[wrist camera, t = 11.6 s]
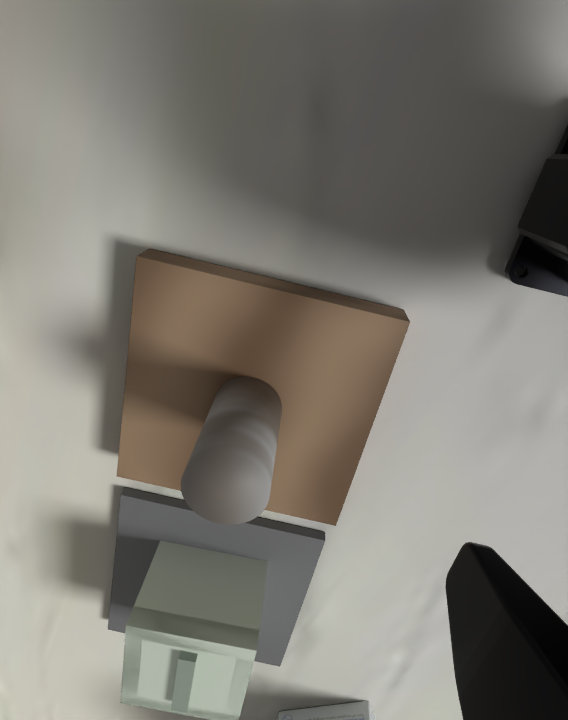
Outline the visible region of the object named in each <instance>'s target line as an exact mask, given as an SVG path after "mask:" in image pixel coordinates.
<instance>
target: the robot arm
mask: <svg viewBox="0 0 568 720" xmlns="http://www.w3.org/2000/svg"><path fill="white" fill-rule="evenodd" d="M518 228H519V231H520V233H521V234H520V236H519V238H518V241H517V243H516V245H515V247H514V250H513V252H512V254H511V257H510V259H509V261H508V263H507V266H506V269H505V274H506V277H507V278H508V279H509V280H510V281H512V282H513V283H515V284H518V285H522V286H527V287H531V288H535V289H539V290H543V291H547V292H551V293H555V294H559V295H563V296H567V297H568V126H567V128H566V130H565V133H564V135H563V137H562V140H561V142H560V144H559V146H558V149H557V151H556V153H555V155H553V156H551V157H550V158H548V159H547V160H546V162H545V164H544V166H543V169H542V171H541V173H540V176H539V178H538V180H537V183H536V185H535V187H534V190H533V192H532V194H531V197H530V199H529V201H528V204H527V206H526V208H525V211H524V213H523V215H522V218H521V220H520V222H519V225H518ZM520 266H525V271H524V272H523V274H521V275H519V276H516V274H515V272H516V269H517V268H518V267H520ZM446 595H447V605H448V614H449V624H450V634H451V643H452V653H453V663H454V671H455V678H456V684H457V690H458V696H459V701H460V706H461V710H462V715H463V720H568V625H567V624H566V623H565V622H564V621H563V620H562V619H561V618H560V617H559V616H558V615H557V614H556V613H555V612H554V611H553V610H552V609H551V608H550V607H549V606H548V605H547V604H546V603H545V602H544V601H543V600H542V599H541V598H540V597H539V596H538V595H537V594H536V593H535V592H534V591H533V589H532V588H531V587H530V586H529V585H528V584H527V583H526V582H525V581H524V580H523V579H522V578H521V577H520V576H519V575H518V574H517V573H516V572H515V571H514V570H513V569H512V568H511V567H510V566H509V565H508V564H507V563H506V562H505V561H504V560H503V559H502V558H501V557H500V556H499V555H498V554H497V553H496V552H495V551H494V550H493V549H492V548H491V547H489V546H486V545H481V544H477V543H472V542H467V543H465V544H464V545H463V546H462V548H461V550H460V551H459V553H458V555H457V557H456V559H455V561H454V563H453V564H452V566H451V568H450V570H449V572H448V574H447V578H446Z"/></svg>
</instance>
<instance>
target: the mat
mask: <svg viewBox="0 0 568 720" xmlns="http://www.w3.org/2000/svg"><path fill="white" fill-rule="evenodd" d="M160 541H166V542H171V543H176V544H181V545H186V546H191V547H196V548H201V549H206V550H212V551H217V552H222V553H227V554H232V555H237V556H242V557H247V558H252V559H257V560H263V561H268V565H267V573H266V581H265V589H264V596H263V604H262V612H261V620H260V628H259V636H258V644H257V652H256V655H255V659H254V661H257V662H262V663H266V664H271V665H276V666H280V665H281V662H282V659H283V657H284V654H285V651H286V648H287V646H288V643H289V640H290V637H291V634H292V632H293V629H294V626H295V623H296V620H297V618H298V615H299V612H300V609H301V606H302V604H303V601H304V598H305V595H306V593H307V590H308V587H309V584H310V581H311V579H312V576H313V573H314V570H315V567H316V565H317V562H318V559H319V556H320V554H321V551H322V548H323V545H324V542H325V532H322V531H317V530H313V529H308V528H304V527H299V526H295V525H290V524H286V523H282V522H277V521H273V520H268V519H264V518H259V517H256V518H254V519H253V520H251V521H248V522H245V523H242V524H235V525H225V524H218V523H215V522H211V521H209V520H206V519H204V518H202V517H201V516H199V515H198V514H196V513H195V512H194V511H193V510H192V509H191V508H190V507H189V506H188V504H187V503H186V501H184V500H179V499H175V498H170V497H166V496H162V495H157V494H153V493H148V492H144V491H139V490H135V489H130V488H126V487H125V489H124V490H123V492H122V494H121V499H120V509H119V519H118V529H117V540H116V550H115V560H114V571H113V581H112V591H111V601H110V612H109V622H108V630H113V631H118V632H122V633H125V631H126V624H127V622H128V619H129V617H130V614H131V612H132V609H133V607H134V604H135V602H136V599H137V597H138V595H139V592H140V590H141V587H142V585H143V582H144V580H145V577H146V575H147V572H148V570H149V567H150V565H151V562H152V560H153V558H154V555H155V553H156V550H157V548H158V545H159V543H160Z"/></svg>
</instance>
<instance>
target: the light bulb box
mask: <svg viewBox="0 0 568 720" xmlns="http://www.w3.org/2000/svg"><path fill="white" fill-rule="evenodd" d="M278 720H377V718H376V716H375V714H374V711H373V709H372V707H371V705H370V703H369V702H368V701H361V702H353V703H345V704H336V705H328V706H320V707H312V708H304V709H296V710H288V711H280V712H279V713H278Z"/></svg>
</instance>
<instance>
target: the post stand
mask: <svg viewBox="0 0 568 720" xmlns="http://www.w3.org/2000/svg"><path fill="white" fill-rule="evenodd" d="M409 323H410V321H409V319H408V317H407V315H406V313H405V311H404V310H402V309H398V308H394V307H390V306H385V305H381V304H377V303H373V302H369V301H365V300H361V299H356V298H352V297H348V296H344V295H340V294H336V293H332V292H327V291H323V290H319V289H315V288H311V287H307V286H302V285H298V284H294V283H290V282H286V281H282V280H278V279H273V278H269V277H265V276H261V275H257V274H253V273H249V272H244V271H240V270H236V269H232V268H228V267H224V266H220V265H215V264H211V263H207V262H203V261H199V260H195V259H190V258H186V257H182V256H178V255H174V254H170V253H166V252H161V251H157V250H153V249H148V250H146V251H145V252H143V253H141V254H140V255H138V256H137V258H136V269H135V280H134V291H133V302H132V313H131V324H130V335H129V346H128V357H127V368H126V379H125V390H124V401H123V412H122V424H121V435H120V446H119V457H118V468H117V476H118V477H122V478H127V479H131V480H136V481H140V482H144V483H149V484H153V485H158V486H162V487H167V488H171V489H175V490H180V491H182V495H183V497H184V500H185V501H186V503H187V504H188V506H189V507H190V508H191V509H192V510H193V511H194V512H195V513H196V514H198V515H199V516H201V517H202V518H204V519H206V520H209V521H211V522H215V523H218V524H225V525H235V524H242V523H245V522H248V521H251V520H253V519H254V518H256V517H257V516H259V515H260V514H261V513H262V512H263V511H264V510H269V511H273V512H277V513H282V514H286V515H291V516H295V517H300V518H304V519H308V520H313V521H317V522H322V523H326V524H331V525H335V526H336V523H337V521H338V518H339V515H340V512H341V510H342V507H343V504H344V502H345V499H346V496H347V493H348V491H349V488H350V485H351V482H352V480H353V477H354V474H355V471H356V469H357V466H358V463H359V460H360V458H361V455H362V452H363V449H364V447H365V444H366V441H367V438H368V436H369V433H370V430H371V428H372V425H373V422H374V419H375V417H376V414H377V411H378V408H379V406H380V403H381V400H382V397H383V395H384V392H385V389H386V386H387V384H388V381H389V378H390V375H391V373H392V370H393V367H394V365H395V362H396V359H397V356H398V354H399V351H400V348H401V345H402V343H403V340H404V337H405V334H406V332H407V329H408V326H409Z"/></svg>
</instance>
